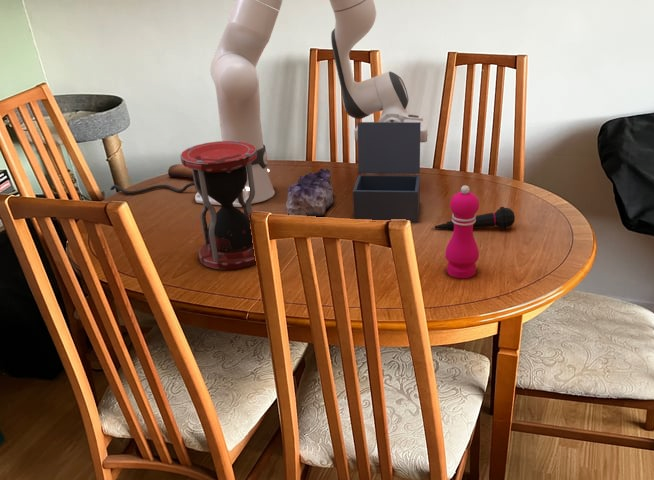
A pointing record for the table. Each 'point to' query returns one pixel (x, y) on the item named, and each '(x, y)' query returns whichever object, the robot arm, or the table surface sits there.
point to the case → (387, 197)
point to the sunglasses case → (180, 171)
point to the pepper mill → (463, 235)
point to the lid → (389, 147)
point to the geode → (311, 194)
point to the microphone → (488, 220)
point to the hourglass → (224, 201)
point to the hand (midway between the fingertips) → (389, 141)
